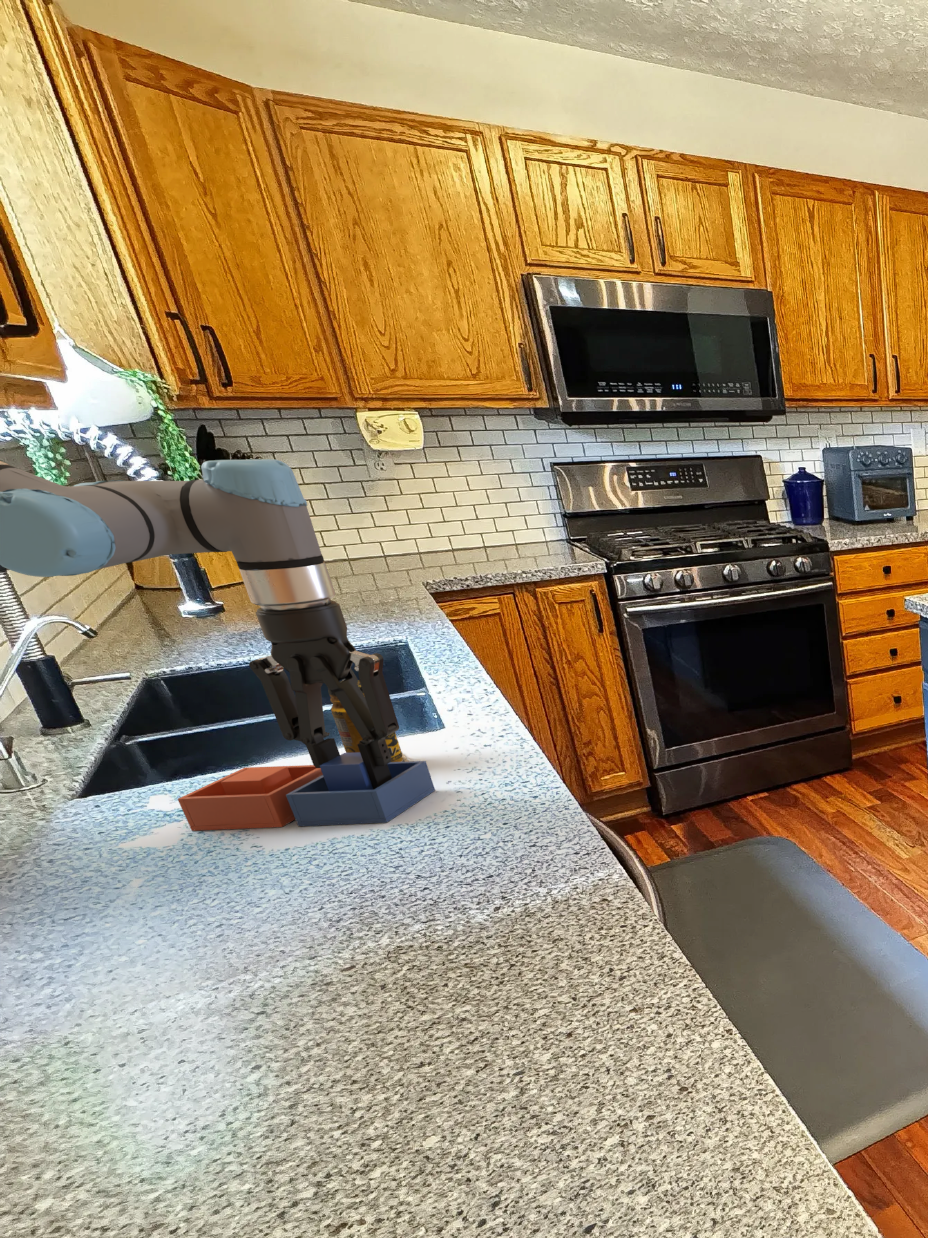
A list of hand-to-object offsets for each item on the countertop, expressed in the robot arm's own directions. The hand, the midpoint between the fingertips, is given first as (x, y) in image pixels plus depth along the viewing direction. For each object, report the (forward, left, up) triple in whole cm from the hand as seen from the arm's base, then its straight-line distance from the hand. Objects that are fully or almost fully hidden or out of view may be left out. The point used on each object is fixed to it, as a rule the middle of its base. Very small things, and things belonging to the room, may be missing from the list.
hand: (362, 789), depth 108 cm
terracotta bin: (-12, 0, -2) cm, 12 cm away
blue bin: (0, 0, -2) cm, 2 cm away
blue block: (0, 0, 0) cm, 0 cm away
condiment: (-9, +15, -3) cm, 18 cm away
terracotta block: (-12, 0, -2) cm, 12 cm away
